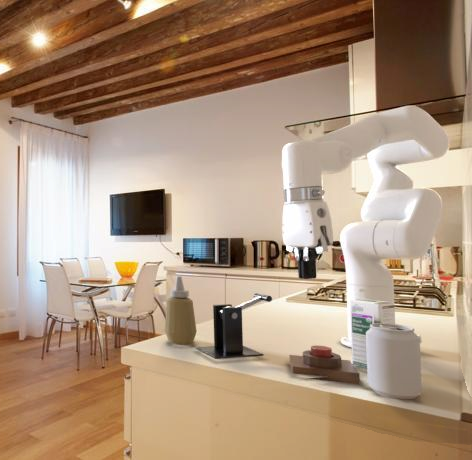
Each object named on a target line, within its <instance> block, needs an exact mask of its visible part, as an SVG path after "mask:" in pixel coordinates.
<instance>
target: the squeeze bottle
mask: <svg viewBox="0 0 472 460" xmlns="http://www.w3.org/2000/svg"><path fill="white" fill-rule="evenodd" d="M169 291H170V292H169V293H170V294H169V295H170V297H169V298H168V299H166V307H165V308H166V310H165V322H164V332H165V335H166V338H167V340H168V343H171V344H174V345H191V344H193V343H194V342H195V338H196V335H197V325H196V317H195V309H194V302H193V301H194V300H193V299H192V298H190V291H189V290H188V289H185V286H184V281H183V277H182V276H176V279H175V283H174V289H170V290H169Z"/></svg>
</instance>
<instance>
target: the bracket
mask: <svg viewBox="0 0 472 460" xmlns="http://www.w3.org/2000/svg"><path fill="white" fill-rule="evenodd" d="M227 306H229V307H227ZM212 308H213V309H212V312H213V314H212V315H213V345H210V346H208V345H207V346H196V347H195V349H196V350H198V351H200V352H202V353H204V354H206V355H207V356H209V357H211V358H213V359H215V360H216V359H217V360H218V359H219V360H220V359H233V358H246V357H260V356H261V357H262V356H263V357H264V354H263V353H262V352H259V351H258V350H257V351H256V350H255V349H252V348H249V347H247V346H244V341H243V339H244V338H243V337H244V336H243V335H244V333H243V310H242V307H236V306H233V305H232V304H230V303H226V304H213V305H212ZM221 309H222V314H223V320H222V319H221V316H220V314H219V311H218V310H221Z"/></svg>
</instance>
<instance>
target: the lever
mask: <svg viewBox="0 0 472 460" xmlns="http://www.w3.org/2000/svg"><path fill="white" fill-rule="evenodd" d="M272 301H273V297H272V296H271V295H268V294H262V293H257V292H256V293H254V294H253V298H251V299H249V300H247V301H245V302H242V303H241V304H238V305H236V306H235V307H242V311H243V310H245V309H248V308H250V307H252V306H255V305H256V304H258V303H260V302H266V303H267V302H268V303H270V302H272ZM227 307H229V306H227ZM218 311H219V314H220V316H221V319H222V320H223V314H222V309H221V310H218Z"/></svg>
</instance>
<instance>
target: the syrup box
mask: <svg viewBox="0 0 472 460" xmlns="http://www.w3.org/2000/svg"><path fill="white" fill-rule="evenodd" d="M395 308H396V304H395V301H394V302H386V301H377V300H368V299H354V300H351V301H350V317H351V343H352V348H351V363H352V364H353V365H354V366H356V367H361V368H364V369H367V351H366V332H367V331H368V330H369V329H370V328H371V327H370V324H374V323H388V324H396V309H395Z"/></svg>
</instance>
